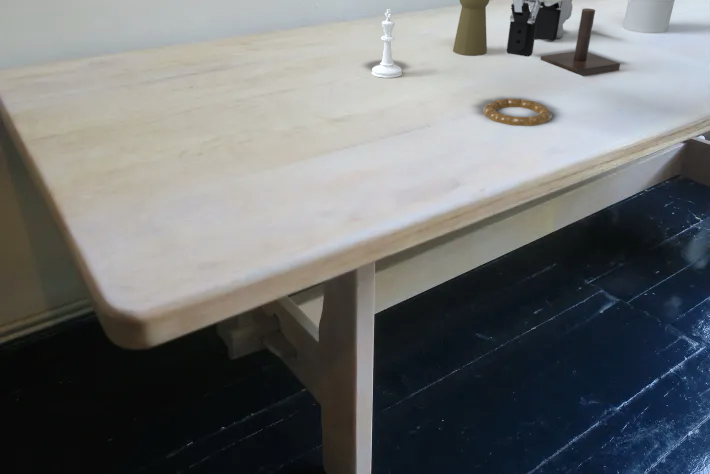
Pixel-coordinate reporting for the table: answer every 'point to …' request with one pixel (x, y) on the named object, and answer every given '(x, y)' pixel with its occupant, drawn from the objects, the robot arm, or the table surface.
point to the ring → (541, 118)
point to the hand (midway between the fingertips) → (532, 46)
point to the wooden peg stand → (583, 52)
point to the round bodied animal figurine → (563, 15)
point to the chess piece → (387, 52)
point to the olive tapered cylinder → (471, 28)
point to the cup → (648, 16)
